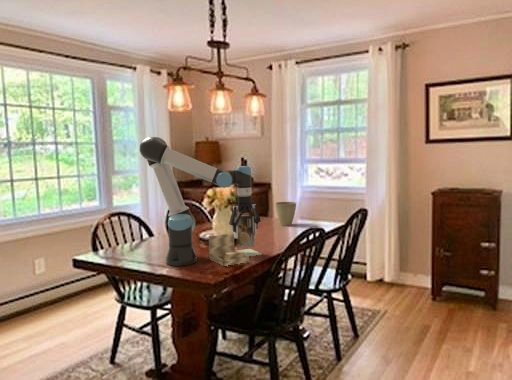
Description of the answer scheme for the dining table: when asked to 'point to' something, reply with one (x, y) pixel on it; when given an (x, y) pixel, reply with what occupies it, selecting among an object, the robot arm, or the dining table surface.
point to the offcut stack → (234, 255)
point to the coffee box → (246, 231)
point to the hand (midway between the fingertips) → (245, 236)
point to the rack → (223, 249)
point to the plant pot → (286, 212)
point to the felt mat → (250, 252)
